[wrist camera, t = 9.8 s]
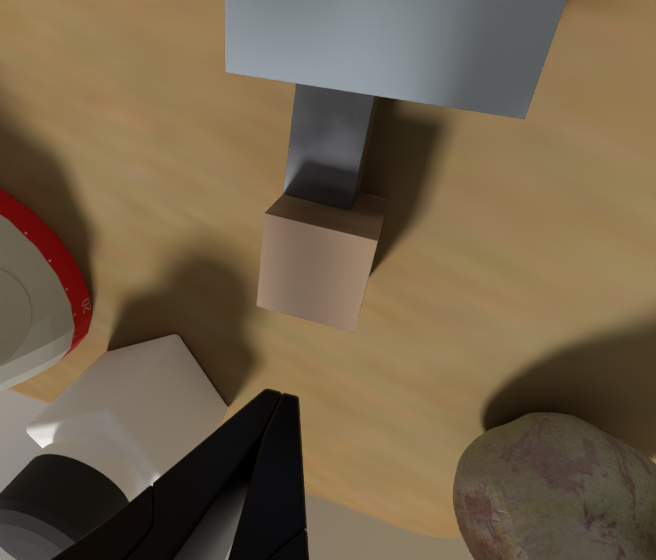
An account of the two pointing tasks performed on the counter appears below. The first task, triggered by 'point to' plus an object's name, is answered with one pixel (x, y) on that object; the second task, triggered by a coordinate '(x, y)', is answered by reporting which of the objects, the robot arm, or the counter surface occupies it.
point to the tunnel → (399, 48)
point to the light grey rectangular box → (107, 444)
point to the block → (319, 258)
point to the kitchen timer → (36, 295)
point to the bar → (329, 144)
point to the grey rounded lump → (555, 493)
